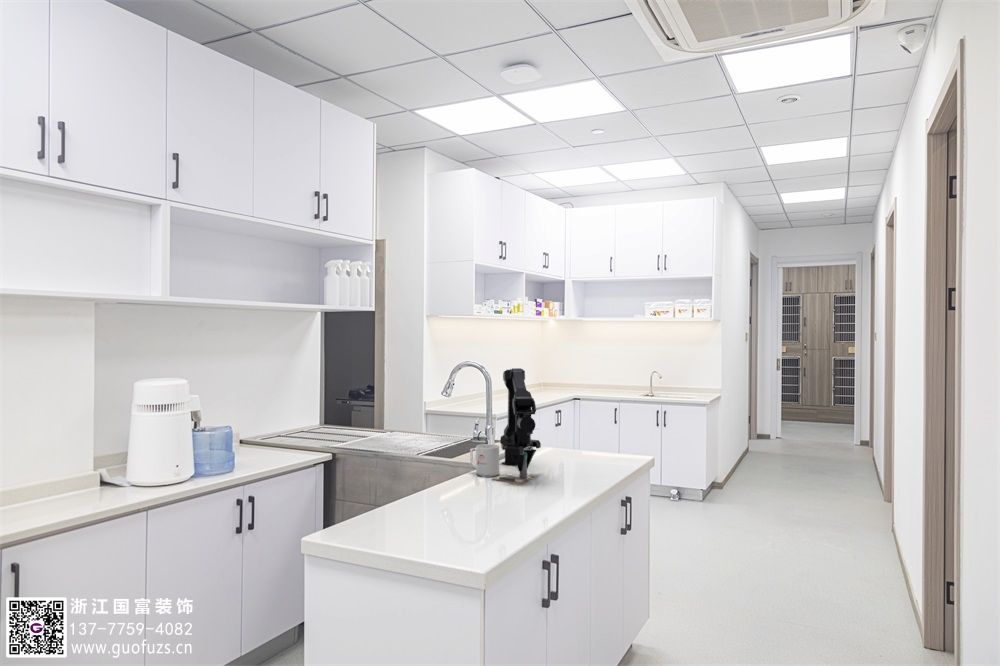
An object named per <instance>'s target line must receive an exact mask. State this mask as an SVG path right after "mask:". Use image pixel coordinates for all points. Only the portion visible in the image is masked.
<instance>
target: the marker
mask: <svg viewBox="0 0 1000 666" xmlns="http://www.w3.org/2000/svg"><path fill="white" fill-rule="evenodd" d="M524 453H525V454H527V453H526V452H524ZM519 475H520V479H526V478H527V476H528V468H527V455H526V458H525V462H524V466H523V469H522V471H519Z"/></svg>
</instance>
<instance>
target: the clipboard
mask: <svg viewBox="0 0 1000 666" xmlns="http://www.w3.org/2000/svg"><path fill="white" fill-rule="evenodd" d="M534 478H535V477H534V476H529V475H527V478H526V479H520V474H514V473H513V474H512V473H504V474H502V475H498V476H497V477H496V476H495V477H493V478H492V479H491V481H495V482H503V483H509V484H510V483H511V484H512V483H513V484H518V485H519V484H520V485H521V484H523V483H526V482H528V481H530V480H533V479H534Z"/></svg>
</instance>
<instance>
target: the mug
mask: <svg viewBox="0 0 1000 666" xmlns="http://www.w3.org/2000/svg"><path fill="white" fill-rule="evenodd" d="M474 450H475V454H476V455H475V458H476V459H475V460H476V461H475V462H474V455H473V454H474ZM469 453H470V463H471V465H472V466H473V467H474V468H475V471H476V474H477V476H479V477H482V478H495V477H496V476H498V474H499V473H500V445H498V444H493V443H492V444H491V443H485V444H478V445H476V447H475V448H474V447H473V448H470V449H469Z"/></svg>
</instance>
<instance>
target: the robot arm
mask: <svg viewBox="0 0 1000 666" xmlns="http://www.w3.org/2000/svg"><path fill="white" fill-rule="evenodd" d="M502 379H503V381H504V385H505V387H506V388H507V424H506V426H505V428H504V429H503V435H501V436H500V441H499V443H500V447H501V450H502V451H504V461H503V462H501V464H502V465H509V466H517V469H518V472H520V471H522V469H523V466H524V462H525V458H526V455H527V469H528V468H529V466H530V464H531V462H532V460H533V457H534V455H535V454H536V452H537V449H541V448H542V447H541V445H542V444H541V441H540V440H539V439H531V438H532V434H533V433H534V430H535V428H536V421H535V419H533V418H532V415H536V412H537V407H536V402H535V400H534V398H533V396H532V393H531V391H528V390H527V387H526V382H525V380H526V370H524V369H523V368H509V369H506V370H504V371H503V373H502ZM534 448H536V449H534ZM524 452H526V453H527V454H525V453H524Z"/></svg>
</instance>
